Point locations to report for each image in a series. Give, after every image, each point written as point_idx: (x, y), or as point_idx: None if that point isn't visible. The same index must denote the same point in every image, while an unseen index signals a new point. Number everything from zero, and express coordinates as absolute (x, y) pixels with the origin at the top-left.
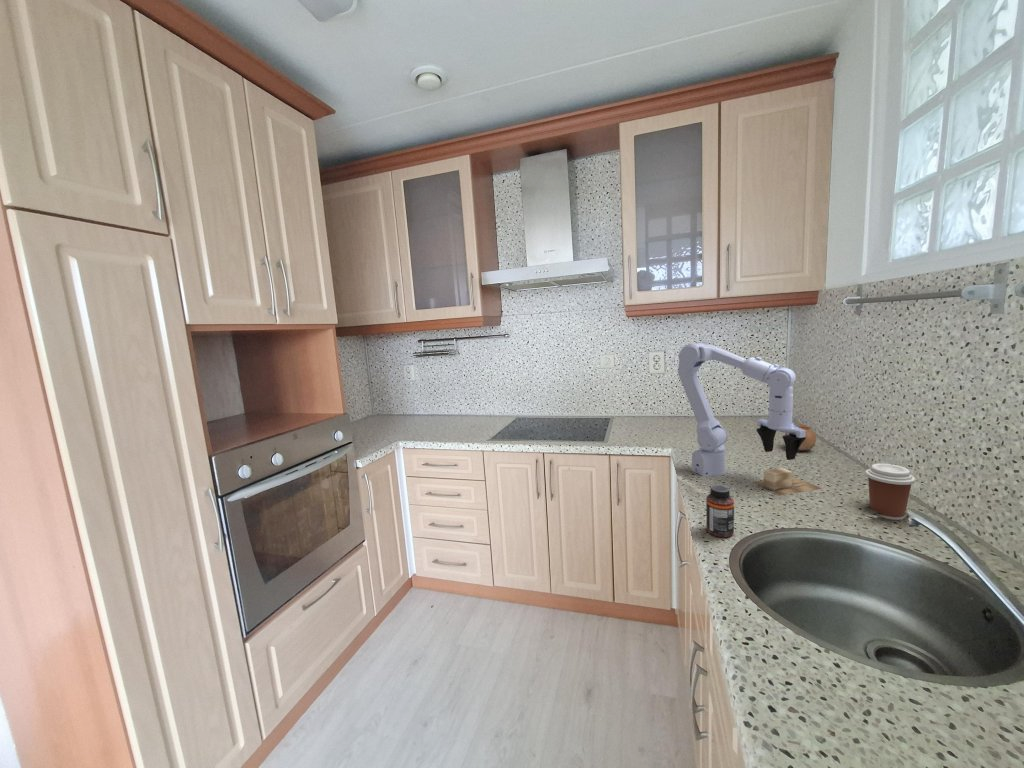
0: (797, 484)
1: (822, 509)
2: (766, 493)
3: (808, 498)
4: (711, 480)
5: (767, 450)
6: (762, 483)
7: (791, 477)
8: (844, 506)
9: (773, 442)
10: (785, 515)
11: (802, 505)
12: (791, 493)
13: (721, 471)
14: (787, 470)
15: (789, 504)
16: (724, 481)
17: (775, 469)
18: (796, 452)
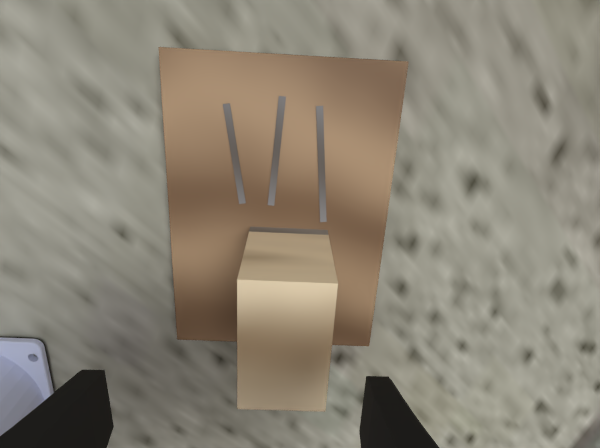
0: (295, 150)
1: (532, 256)
2: None
3: (419, 207)
4: None
5: (105, 431)
6: (212, 311)
7: (332, 266)
8: (575, 128)
9: (40, 441)
10: (485, 420)
11: (459, 298)
12: (377, 283)
13: (24, 416)
14: (301, 289)
15: (424, 337)
16: None
17: (252, 341)
18: (425, 435)
